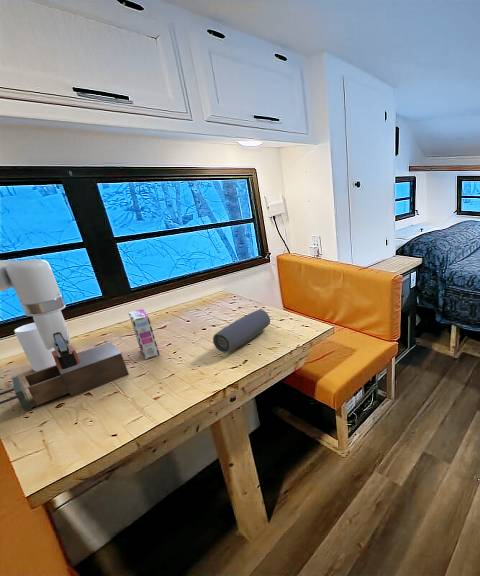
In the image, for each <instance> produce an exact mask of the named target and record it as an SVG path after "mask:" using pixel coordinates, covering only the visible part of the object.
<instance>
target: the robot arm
mask: <svg viewBox="0 0 480 576" xmlns="http://www.w3.org/2000/svg"><path fill="white" fill-rule="evenodd" d="M12 288H13V289H14V292H15V295H16V296H17V299H18V301H19V303H20V306H21V308H22V310H23V312H24V315H25V316H26V317H32V319H33V321H34V322H33V323H35V324H36V327H37V329H38V331H39V334H40V336H41V338H42V340H43V343H44V345H45V347H46V349H48V350H51V348H53V347H54V349H55V350H56V353H57V355H58V357H57V358H58V361H59V363H60V365H61V368H62V369H66V368H69V367H72V366H75V365H77V361H76V359H75V356H74V354H73V352H71V349H70V347H69V346H70V344H71V343H72V339H71V336H70V332H69V329H68V326H67V323H66V320H65V318H64V315H63V313H62V310H64V309H65V308H67V307H66V303H65V301H64V298H63V295H62V293H61V291H60V288H59V285H58V283H57V280H56V278H55V276H54V271H53V270H52V267H51V265H50V263H49V262H48V261H46V260H45V259H40V258H33V259H24V260H6V259H4V260H3V259H0V292H3V291H7V290H9V289H12ZM55 344H56V345H55ZM66 347H67V348H66ZM58 349H60V350H58ZM55 350H54V351H55Z"/></svg>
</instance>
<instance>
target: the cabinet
mask: <svg viewBox="0 0 480 576" xmlns="http://www.w3.org/2000/svg"><path fill="white" fill-rule="evenodd" d="M76 353H77V356H78V358H79V361H80V364H77V365H75V366H72V367H69V368H66V369H62V370H59V372H60V374H61V376H62V378H63V380H64V382H65V385H66V387H67V389H68V391H69V393H68V394H69V395H70V398H75V397H76V396H79V395H81V394H84V393H87V392H89V391H91V390H94V389H96V388H99V387H101V386H103V385H106V384H108V383H109V384H110V383H112V382H114V381H116V380H118V379H121V378H124V377H127V376H128V375H130V373H129V371H128V367H127V366H126V363H125V359H124V357H123V355H122V352H121V351H119V349H118V348H117V347H116V345H114V343H113V342H112V341H111V342H108V343H103V344H101V345H98V346H94V347H91V348H89V349H86V350H82V351H79V352H76ZM55 363H56V362H55ZM56 365H57V364H56ZM57 367H58V366H57Z"/></svg>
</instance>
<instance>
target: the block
mask: <svg viewBox="0 0 480 576" xmlns="http://www.w3.org/2000/svg"><path fill="white" fill-rule="evenodd" d="M69 347H70V349H71V352H73V354H74V356H75V359H76V361H77V364H80V361H79V358H78V356H77V353H78V352H77V351H76V349H75V347H74V345H69ZM66 348H67V347H66ZM58 350H60V349H58ZM51 353H52V355H53V357H54V360H55V362H56V364H57V366H58V369H59V370H62V368H61V365H60V363H59V361H58V358H57V357H58V355H57V353H56V350H55V351H52V352H51Z"/></svg>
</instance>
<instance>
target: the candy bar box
mask: <svg viewBox="0 0 480 576" xmlns="http://www.w3.org/2000/svg"><path fill="white" fill-rule="evenodd" d="M128 316H129V319H130V321H131V325H132V329H133V331H134V336H135V338H136V341H137V344H138V347H139V350H140V352H141V354H142V357H143V358H144V360H149V359H152V358H156V357H158V356H160V355H161V354H160V351H159V347H158V344H157V341H156V338H155V334H154V331H153V328H152V324H151V321H150V317H149V316H148V315H147V313H146V311H145V310H144V309H143V308H141V309H137V310H133V311H130V312H128Z"/></svg>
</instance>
